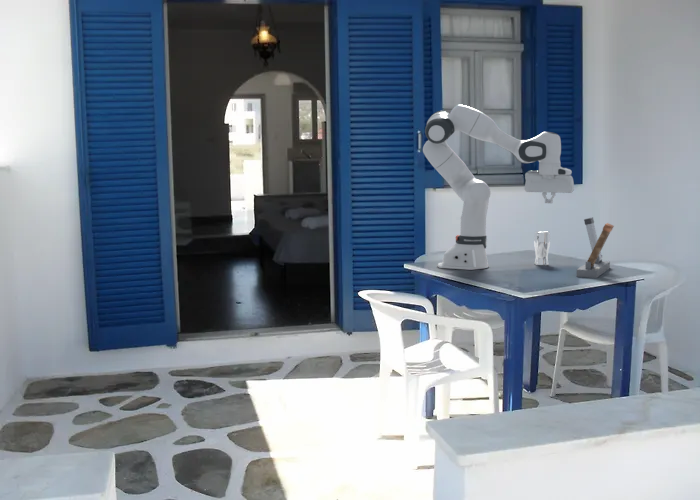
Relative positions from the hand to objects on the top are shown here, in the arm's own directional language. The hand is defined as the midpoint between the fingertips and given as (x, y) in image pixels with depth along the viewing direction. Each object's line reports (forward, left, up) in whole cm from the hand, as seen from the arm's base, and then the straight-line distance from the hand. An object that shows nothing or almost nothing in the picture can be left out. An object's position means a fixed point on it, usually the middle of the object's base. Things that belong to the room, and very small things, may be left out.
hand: (548, 203), depth 318 cm
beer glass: (-2, +18, -29) cm, 34 cm away
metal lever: (+22, +8, -26) cm, 35 cm away
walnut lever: (+17, -9, -26) cm, 32 cm away
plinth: (+19, 0, -29) cm, 35 cm away
